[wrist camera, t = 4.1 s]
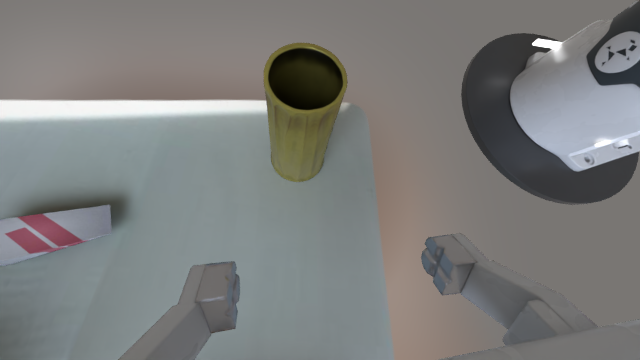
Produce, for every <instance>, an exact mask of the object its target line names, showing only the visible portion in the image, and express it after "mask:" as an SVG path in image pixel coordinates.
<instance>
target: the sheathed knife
mask: <svg viewBox="0 0 640 360" xmlns="http://www.w3.org/2000/svg"><path fill="white" fill-rule="evenodd" d="M109 234H112V227H111V212H110V205H104V206H96V207H89V208H81V209H74V210H66V211H59V212H52V213H44V214H37V215H29V216H22V217H14V218H7V219H0V265H6V266H7V265H10V264H14V263H17V262H20V261H24V260H27V259H30V258H33V257H37V256H40V255H43V254H47V253H50V252H53V251H56V250H60V249H63V248H66V247H69V246H73V245H76V244H79V243H83V242H86V241H89V240H92V239H96V238H99V237H102V236H105V235H109Z"/></svg>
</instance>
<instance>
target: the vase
mask: <svg viewBox="0 0 640 360" xmlns="http://www.w3.org/2000/svg"><path fill="white" fill-rule="evenodd" d="M264 87H265V94H266V101H267V111H268V122H269V133H270V142H271V162H272V165H273V167H274V169H275V171H276V172H277V173H278V174H279V175H280V176H281V177H283V178H285V179H287V180H290V181H294V182H301V181H306V180H309V179H311V178H313V177H314V176H315V175H316V174H318V172H319V171H320V169H321V167H322V165H323V161H324V154H325V151H326V148H327V144H328V140H329V137H330V135H331V132H332V129H333V125H334V123H335V120H336V117H337V114H338V111H339V108H340V105H341V102H342V99H343V96H344V93H345V91H346V88H347V75H346V71H345V68H344V67H343V65H342V63H341V62H340V61H339V59H338V58H337V57H336V56H335V55H334V54H332V53H331V52H330V51H328V50H326V49H324V48H322V47H320V46H318V45H315V44H310V43H293V44H289V45H286V46H283V47H281V48H279V49H278V50H277V51H275V52H274V53H273V54H272V55H271V56H270V57H269V59H268V61H267V63H266V65H265V68H264Z"/></svg>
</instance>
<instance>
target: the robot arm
mask: <svg viewBox="0 0 640 360" xmlns="http://www.w3.org/2000/svg"><path fill="white" fill-rule="evenodd" d="M532 45H533V46H540V47H546V48H553V49H552V50H550V51H549V52H547V53H543V52H537V53H535V54H533V55H532V56H530V57H529V58H528V61H527V64H526V67H525V69H524V70H523V71H522V72H521V73H520V74H519V75H518V76H517V77H516V78H515V80H514V81H513V83H512V86H511V90H510V103H511V108H512V111H513V114H514V116H515V118H516V120H517V122H518V124H519V125H520V127H521V128H522V129H523V131H524V132H525V133H526V134H527V135H528V136H529V137H530V138H531V139H532V140H533V141H534V142H535V143H537V144H538V145H539V146H541V147H542V148H544V149H546V150H548V151H549V152H551V153H553V154H555V155H556V156H558V157H559V158H560V159H561V160H562V161H563V162H564V163H565V164H566V165H567V166H568V167H569V168H570V169H572V170H573V171H576V172H579V171H583V170H586V169H589V168H591V167H594V166H597V165H600V164H603V163H606V162H609V161H612V160H615V159H618V158H621V157H624V156H627V155H630V154H633V153H636V152H639V151H640V0H637V1H635V2H634V3H632V5H631V6H630V7H628V8H627V9H625V10H624V11H623V12H621V13H620V14H618V15H617V16H616V17H615V18H614V19H613V20H598V21H596V22H593V23H592V24H590V25H589V26H587V27H585V28H584V29H582V30H581V31H579V32H578V33H576V34H575V35H573V36H572V37H570V38H569V39H567V40H566V41H564V42H563V43H562V42H556V41H549V40H543V39H537V40H536V41H535V42H534V43H532ZM425 245H426V247H427V248H426V249H425V250H424V251H423V252H422V256H421V259H422V264H423V267H424V269H425V270H426V272H427V273H428V274H430V275H431V276H433V283H434V284H435V286H436V287H437V289H438V290H439V292H440V293H441V294H442V295H449V294H457V293H461V295H463V296H464V297H465V298H467V299H468V300H469V301H471V302H472V303H473V304H475V305H476V306H477V307H479V308H480V309H481V310H483V311H484V312H485V313H487V314H488V315H489V316H491V317H492V318H493V319H495V320H496V321H497V322H499V323H500V324H501V325H503V326H504V327H505V328H507V329H508V331H507V333H506V334H505V335H504V337H503V342H504V344H505V345H506V346H503V347H498V348H493V349H488V350H484V351H478V352H473V353H469V354H463V355H459V356H454V357H449V358H444V359H439V360H640V319H637V320H632V321H627V322H622V323H617V324H612V325H607V326H602V327H598V326H597V325H596V324H595V323H593V322H592V321H591V320H590V319H589V318H588V317H587V316H586V315H584V314H583V313H582V312H581V311H580V310H579V309H578V308H576V307H575V306H574V305H573V304H572V303H571V302H570V301H569V300H567V299H566V298H565V297H564V296H563V295H562V294H560V293H557V292H556V291H554V290H552V289H550V288H548V287H546V286H544V285H541V284H540V283H538V282H535V281H533V280H531V279H529V278H527V277H525V276H523V275H521V274H519V273H517V272H515V271H513V270H511V269H509V268H507V267H505V266H503V265H501V264H499V263H497V262H495V261H489V260H488V259H487V258H486V257H485V256H484V255H483V254H482V253H481V252H480V251H479V250H478V249H477V248H476V247H475V246H474V244H472V242H470V240H469V239H468V238H467V237H466V236H465V235H463V234H461V233H459V234H451V235H443V236H436V237H429V238H428V239H427V240H426V242H425ZM236 268H237V267H236V264H235V262H234V261H231V262H221V263H211V264H203V265H193V266H192V268H191V269H190V271H189V274H188V277H187V280H186V283H185V285H184V288H183V291H182V294H181V297H180V299H179V302H178V305H176V306H172V307H171V308H170V309H169V310H168V311H167V312H166V313H165V314H164V315H163V316H162V317H161V318H160V319H159V320H158V321H157V322H156V323H155V324H154V325H153V326H152V327H151V328H150V329H149V330H148V331H147V332H146V333H145V334H144V335H143V336H142V337H141V338H140V339H139V340H138V341H137V342H136V343H135V344H134V345H133V346H132V347H131V348H129V349H128V350H127V351H126V352H125V353H124V354H123V355H122V356H121V357H120V358H119V359H118V360H194V359H195V358H196V356H197V355H198V353H199V352H200V351H201V349H202V348H203V346H204V345H205V343H206V342H207V340H208V339H209V337H210V336H211V333H215V332H220V331H225V330H231V329H235V328H236V320H237V313H238V310H237V306H236V303H237V302H238V301H239V296H240V281H239V276H238V275H237V274H236Z"/></svg>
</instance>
